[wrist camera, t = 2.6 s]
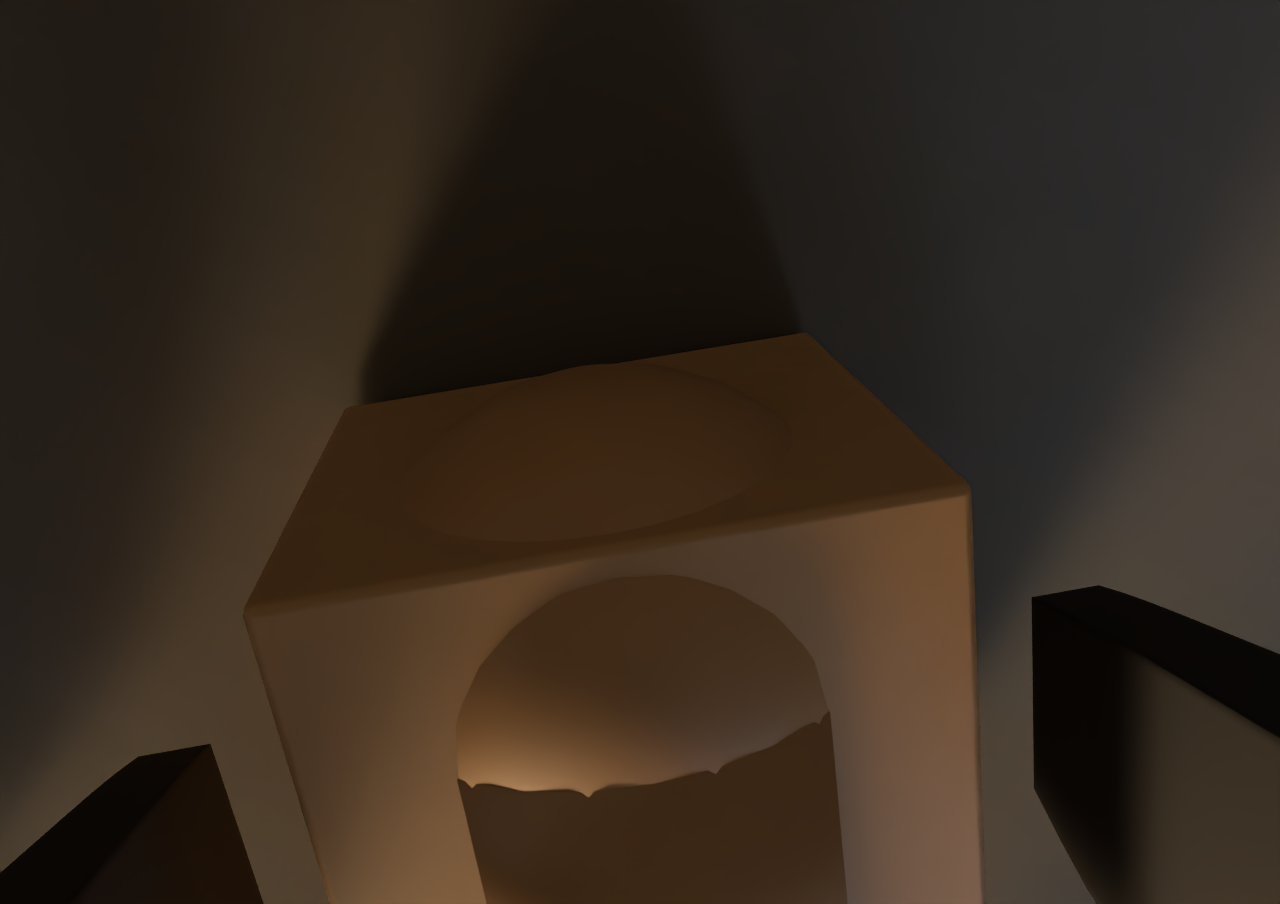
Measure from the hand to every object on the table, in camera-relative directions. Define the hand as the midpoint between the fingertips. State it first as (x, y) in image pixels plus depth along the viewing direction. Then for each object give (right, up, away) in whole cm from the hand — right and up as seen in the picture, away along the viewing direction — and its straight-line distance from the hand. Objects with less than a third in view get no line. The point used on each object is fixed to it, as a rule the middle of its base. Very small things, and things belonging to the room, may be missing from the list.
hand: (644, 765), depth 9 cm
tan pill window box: (0, +1, +2) cm, 2 cm away
